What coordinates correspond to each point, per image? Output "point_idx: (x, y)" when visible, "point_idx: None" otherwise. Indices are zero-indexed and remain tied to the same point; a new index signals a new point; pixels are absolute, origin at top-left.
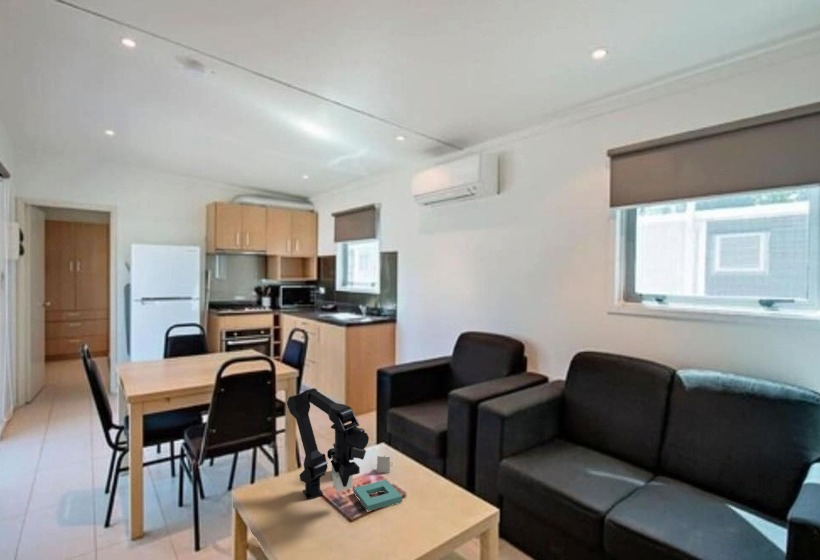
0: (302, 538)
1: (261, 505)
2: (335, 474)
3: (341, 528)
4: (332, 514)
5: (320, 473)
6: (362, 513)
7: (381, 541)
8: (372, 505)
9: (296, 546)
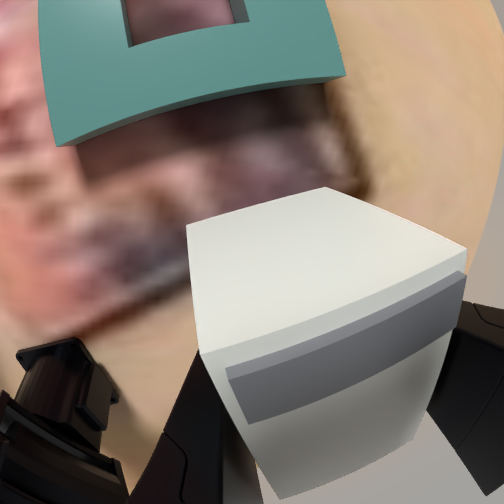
0: None
1: None
2: (321, 481)
3: None
4: None
5: (72, 467)
6: (321, 113)
7: (480, 111)
8: (334, 44)
9: None
